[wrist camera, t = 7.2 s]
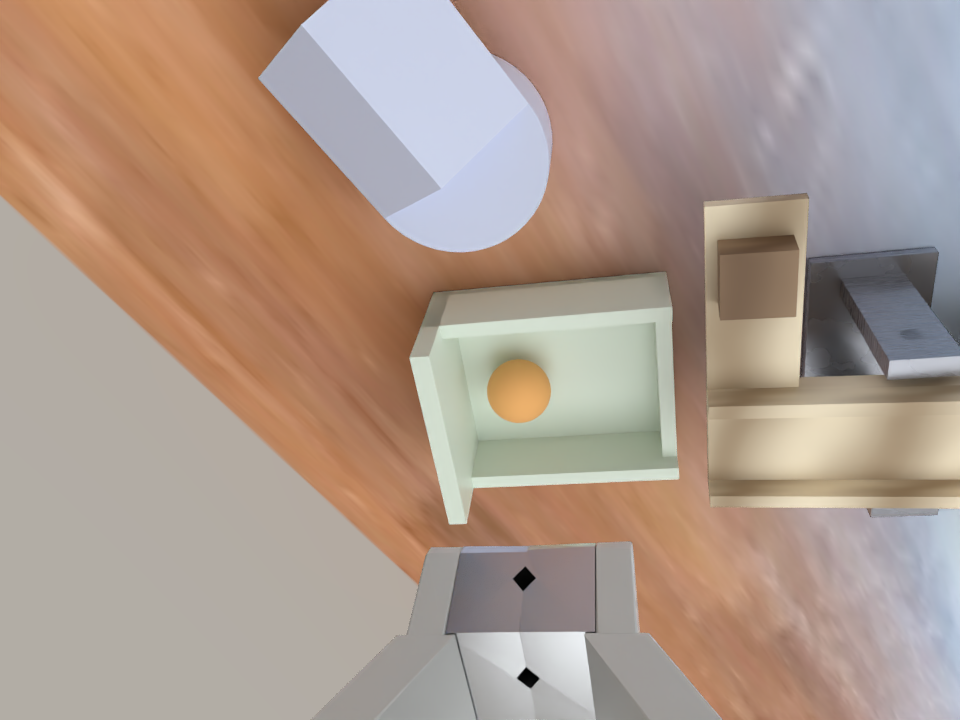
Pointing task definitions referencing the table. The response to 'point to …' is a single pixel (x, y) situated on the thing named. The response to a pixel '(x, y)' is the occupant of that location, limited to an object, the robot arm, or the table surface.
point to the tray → (573, 379)
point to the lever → (806, 387)
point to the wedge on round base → (419, 118)
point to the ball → (519, 391)
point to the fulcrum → (876, 323)
